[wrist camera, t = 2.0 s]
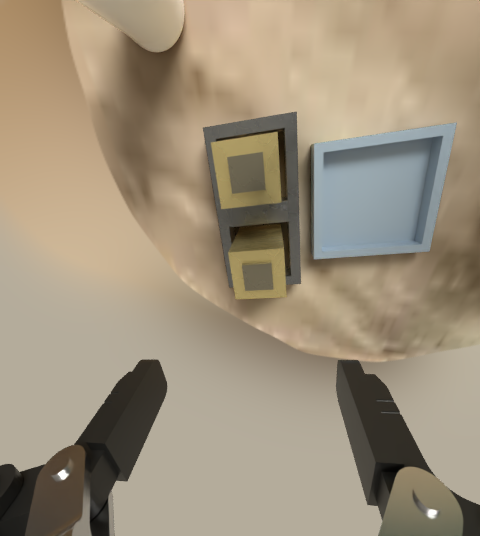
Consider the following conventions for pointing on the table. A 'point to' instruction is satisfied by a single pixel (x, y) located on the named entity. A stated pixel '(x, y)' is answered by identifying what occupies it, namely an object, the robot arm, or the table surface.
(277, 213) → the frame
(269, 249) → the gold square peg
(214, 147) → the square peg
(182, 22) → the white tapered cylinder
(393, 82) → the table surface
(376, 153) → the parts tray
